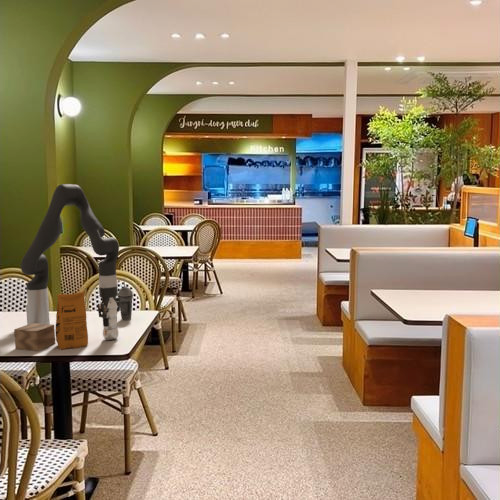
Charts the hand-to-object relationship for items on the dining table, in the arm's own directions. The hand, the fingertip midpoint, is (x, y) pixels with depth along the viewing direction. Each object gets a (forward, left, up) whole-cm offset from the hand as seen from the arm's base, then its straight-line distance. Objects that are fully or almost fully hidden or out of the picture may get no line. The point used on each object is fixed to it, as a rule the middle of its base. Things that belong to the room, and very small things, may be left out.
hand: (110, 324), depth 253 cm
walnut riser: (-25, -17, -7) cm, 31 cm away
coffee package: (-11, -12, -7) cm, 17 cm away
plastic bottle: (0, 0, -7) cm, 7 cm away
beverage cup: (-13, +34, -7) cm, 37 cm away
